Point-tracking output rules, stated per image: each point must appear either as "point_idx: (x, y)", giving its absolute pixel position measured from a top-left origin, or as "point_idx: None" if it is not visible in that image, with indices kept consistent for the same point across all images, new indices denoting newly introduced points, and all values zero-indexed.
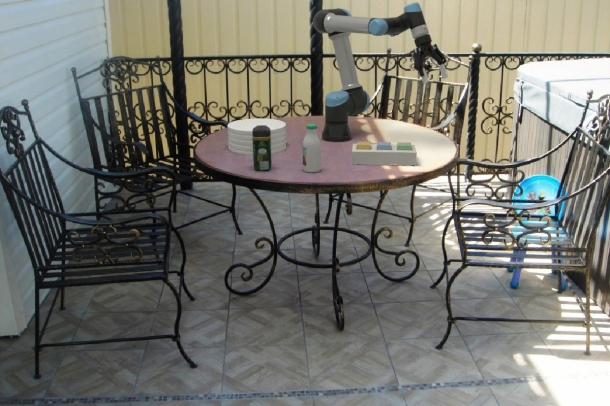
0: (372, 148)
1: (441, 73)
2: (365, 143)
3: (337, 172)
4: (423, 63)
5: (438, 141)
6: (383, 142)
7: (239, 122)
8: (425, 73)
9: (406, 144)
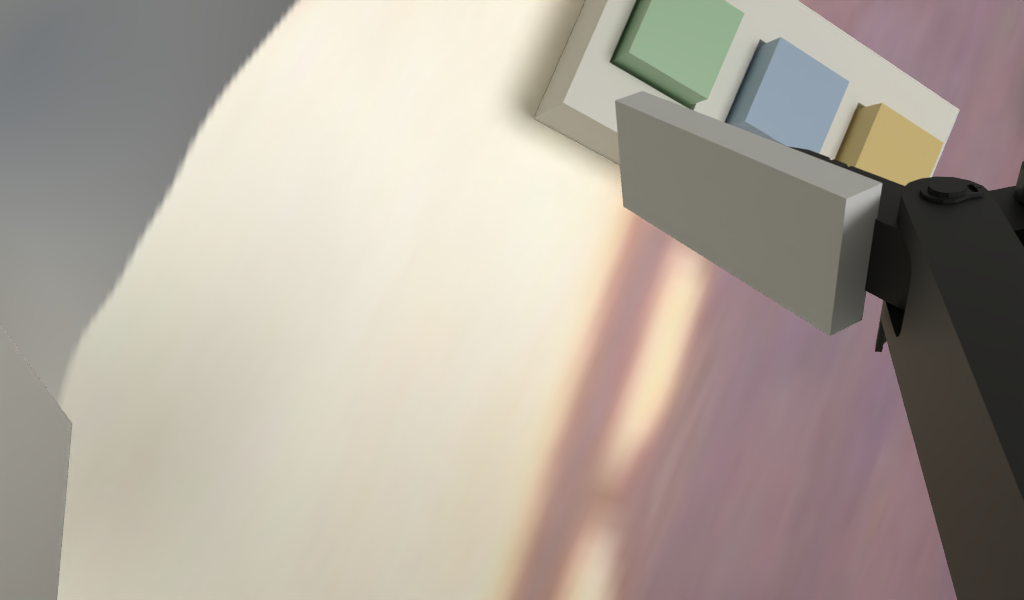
0: (840, 126)
1: (58, 514)
2: (890, 155)
3: (998, 24)
4: (948, 282)
5: (140, 467)
6: (788, 132)
7: None
8: (757, 142)
9: (682, 14)
